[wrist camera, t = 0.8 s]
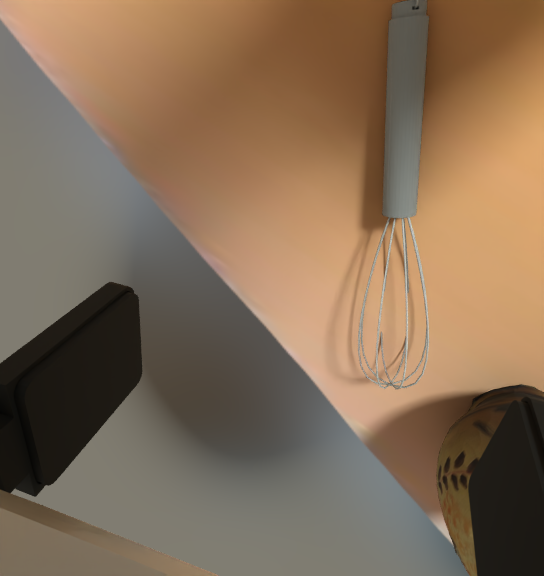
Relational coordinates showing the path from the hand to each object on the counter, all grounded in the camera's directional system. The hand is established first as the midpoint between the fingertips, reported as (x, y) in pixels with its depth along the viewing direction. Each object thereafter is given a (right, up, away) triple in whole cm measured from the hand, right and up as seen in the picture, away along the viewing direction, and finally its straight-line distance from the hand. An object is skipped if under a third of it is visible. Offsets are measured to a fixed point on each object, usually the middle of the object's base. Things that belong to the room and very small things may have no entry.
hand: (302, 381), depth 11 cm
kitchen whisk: (+10, +9, +27) cm, 30 cm away
